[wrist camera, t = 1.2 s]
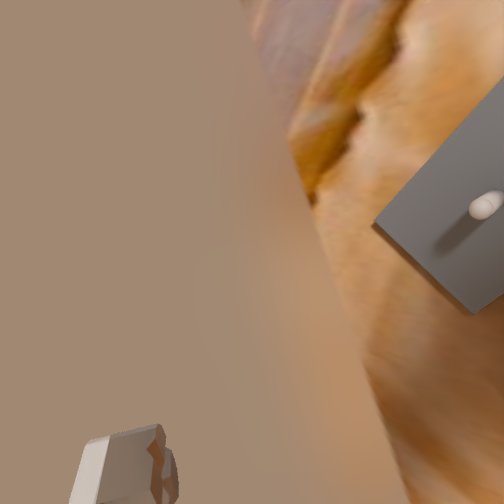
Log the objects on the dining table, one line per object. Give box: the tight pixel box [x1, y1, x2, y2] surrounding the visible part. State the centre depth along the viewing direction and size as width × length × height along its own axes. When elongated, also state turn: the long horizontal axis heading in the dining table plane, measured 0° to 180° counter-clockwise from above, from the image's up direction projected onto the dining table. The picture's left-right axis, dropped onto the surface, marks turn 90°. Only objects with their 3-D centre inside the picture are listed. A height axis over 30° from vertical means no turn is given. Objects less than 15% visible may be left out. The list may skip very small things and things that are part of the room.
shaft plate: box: [374, 77, 504, 315], centre depth 40 cm, size 22×16×10 cm
